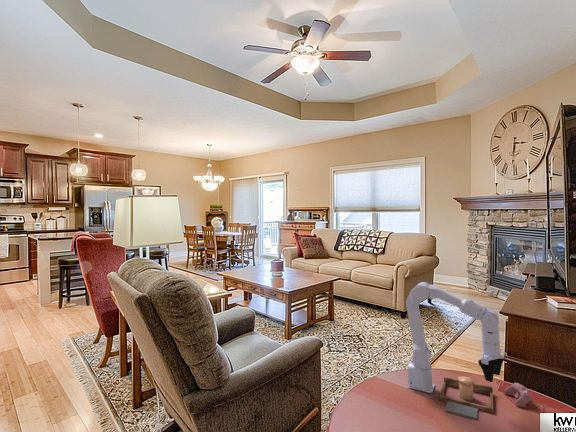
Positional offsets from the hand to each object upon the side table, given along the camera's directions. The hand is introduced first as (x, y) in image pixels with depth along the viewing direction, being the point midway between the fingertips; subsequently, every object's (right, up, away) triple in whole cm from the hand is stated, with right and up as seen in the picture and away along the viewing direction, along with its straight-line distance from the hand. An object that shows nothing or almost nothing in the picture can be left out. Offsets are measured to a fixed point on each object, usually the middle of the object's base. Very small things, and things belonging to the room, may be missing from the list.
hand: (492, 377), depth 118 cm
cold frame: (-7, -10, +5) cm, 13 cm away
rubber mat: (-14, -10, -4) cm, 18 cm away
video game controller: (+11, -10, +1) cm, 14 cm away
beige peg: (-7, -10, +5) cm, 13 cm away
